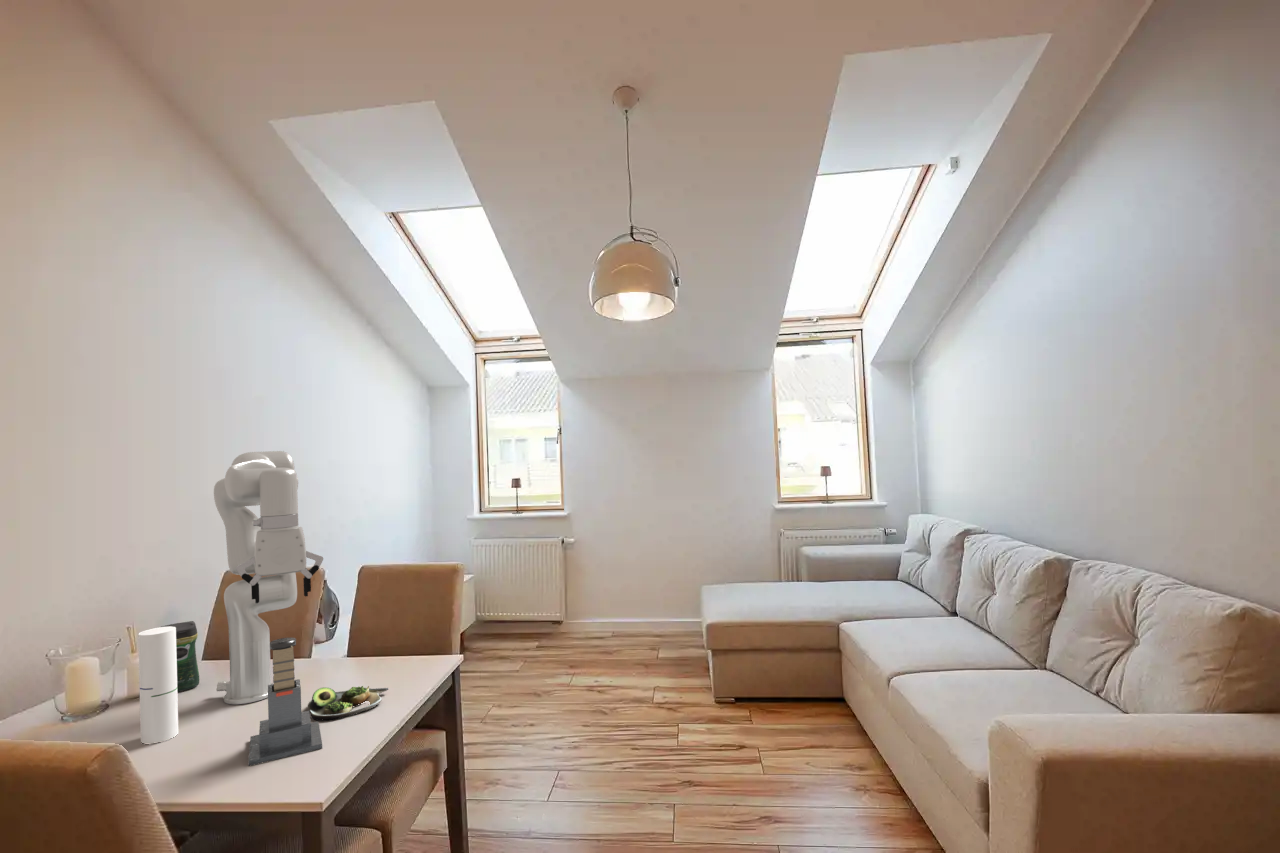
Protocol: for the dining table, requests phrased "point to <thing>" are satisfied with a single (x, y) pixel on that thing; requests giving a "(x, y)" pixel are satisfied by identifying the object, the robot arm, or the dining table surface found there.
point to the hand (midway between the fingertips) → (282, 598)
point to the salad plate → (342, 702)
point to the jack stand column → (283, 663)
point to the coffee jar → (186, 655)
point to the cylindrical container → (158, 684)
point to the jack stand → (284, 728)
